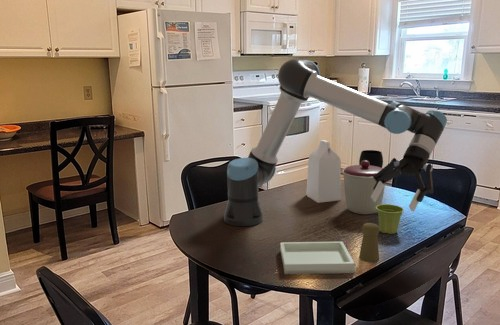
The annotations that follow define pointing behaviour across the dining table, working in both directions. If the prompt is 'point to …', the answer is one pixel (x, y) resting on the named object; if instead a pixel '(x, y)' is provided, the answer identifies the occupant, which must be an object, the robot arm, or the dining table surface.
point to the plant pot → (389, 217)
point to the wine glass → (372, 157)
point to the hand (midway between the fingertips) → (391, 204)
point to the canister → (361, 188)
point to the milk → (324, 174)
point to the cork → (369, 243)
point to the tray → (316, 258)
